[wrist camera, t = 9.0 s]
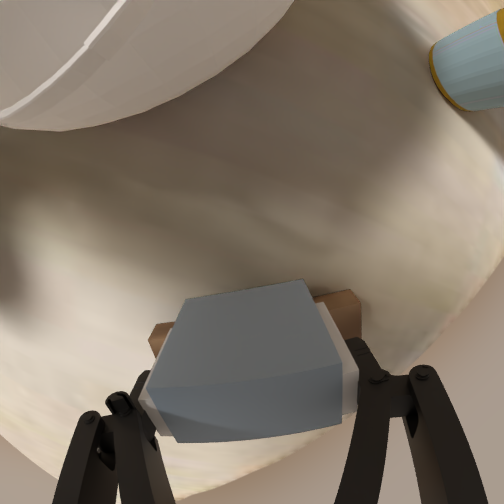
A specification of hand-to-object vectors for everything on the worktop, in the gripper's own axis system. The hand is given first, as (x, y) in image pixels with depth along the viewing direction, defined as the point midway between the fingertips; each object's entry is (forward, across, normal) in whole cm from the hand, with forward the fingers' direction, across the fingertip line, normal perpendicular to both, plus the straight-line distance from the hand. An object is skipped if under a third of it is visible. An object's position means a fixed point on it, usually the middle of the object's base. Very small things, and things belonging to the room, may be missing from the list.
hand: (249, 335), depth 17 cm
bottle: (+5, +22, +16) cm, 28 cm away
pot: (+5, -4, +27) cm, 28 cm away
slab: (+3, 0, 0) cm, 3 cm away
